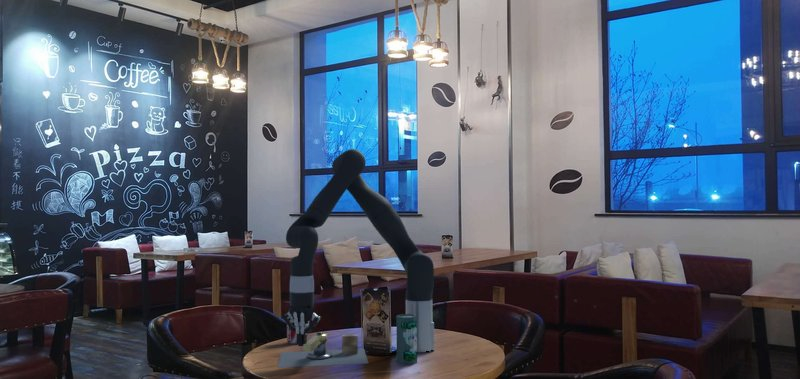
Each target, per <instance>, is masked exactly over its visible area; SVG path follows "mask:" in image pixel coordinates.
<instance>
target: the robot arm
mask: <svg viewBox="0 0 800 379" xmlns="http://www.w3.org/2000/svg"><path fill="white" fill-rule="evenodd" d="M366 161H367V160H366V158H365V155H364V154H363V153H362V152H361V151H360V150H358V149H355V148H352V149H347V150H345V151H344V152H342V153H340V154H339V155H338V156H337V157H335V158H334V160H333V161H332V164H331V168H332V173H333V175H332V176H331V179H329V181H328V182H327V183H325V185H324V186H323V188H321V190H320V191H319V193H318V194H317V195H316V196H315V197H314V198H313V200H312V201H311V203H310V204H309V206H308V207H307V208H306V210H305V212H304V213H303V214H302V215H301V216H299V217H298V218H297V219H296V220H295V221H294V222H293V223H292V224H291V225H290V227H289V228H288V230H287V232H286V234H285V242H286V244H287V245H288V246H289V247H291V248H292V249H293V248H294V249H299V251H298V255H295V256H293V257H292V258H291V259H290V277H289V278H290V279H289V308H288V311H287V313H285V314H283V315H282V319H283V320H284V322H285V324H286V326H287V325H288V326H289V328H290V330H291V331H294V332H296V334H297V344H296V345H297V347H303V344H304V343H305V342H307V341H308V340H307V339H308V333H311V332H313V331H314V329H315V328H316V326H317V325H318V324H319V322H320V321H321V320H322V316H320V315H318V314H317V313H316V310H315V308H314V304H315V278H314V261H315V256H316V253H317V249H318V246H319V234H318V231H317V228H320V227H322V226H323V225H324V224H325V223H326V221H327V220H328V218H329V216H330V215H331V213H332V212H333V210H334V209H335V207H336V205H337V204H338V202H339V200H340V199H341V198H342V196H343V195H344V193H345V192H346V191H348V193H349V194H350V195H351V196H352V198H353V199H354V201H355V202H356V203H357V205H358V206H359V207H360V208H361V210H362V212H364V214H365V216H366V217H367V219H368V220H369V222H370V223H371V224H372V226H373V227H374V228H375V230H376V232H377V233H378V234H379V235H380V237H382V239H383V240H384V241H385V242H386V243H387V244H388V246H390V248H391V249H392V250H393V252H394V254H395V255H396V257H397V258H398V260H399V262H400V264H401V265H402V268H403V269H404V271H405V273H406V291H405V314H414V315H416V316H417V353H427V352H426V351H429V352H432V351H431V350H434V351H435V322H434V321H433V319H434V318H433V294H434V287H435V284H434V282H435V280H434V279H435V267H434V262H433V260H432V258H431V257H430V256H429V255H427V254H425V253H424V252H422V251H421V250H420V249H419V247H418V246H417V245H416V244H415V243H414V241H413V240H412V238H411V237H410V235H409V233H408V232H407V231H408V230H407V229H406V227H405V224H404V222H403V221H402V218H401V217H400V215H399V213H398V212H397V211H396V209H395V208H394V206H393V205H392V204H391V202H390V201H389V200H388V199H387V198H386V197H385V196H383V195H382V194H380V193H379V192H377V191H376V190H375V189H373V188H372V187H370V186H369V185H368V183H367V182H366V181H365V180H364V177H362V175H361V174H362V173H363V171H364V170H365V168H366V164H367V163H366ZM292 318H293V319H294V320H293V319H292ZM310 321H311V322H310Z"/></svg>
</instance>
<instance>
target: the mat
mask: <svg viewBox="0 0 800 379" xmlns="http://www.w3.org/2000/svg"><path fill="white" fill-rule="evenodd" d="M326 351H327V352H331V353H332V357H331V358H329V359H324V360H313V359H309V358H308V354H309V353H311V352H314V350H312V351H311V352H308V351H303V350H302V351H288V352H287V351H286V352H285V351H284V352H283V351H282V352H280V353H279V360H278V364H277V368H278V369H280V368H297V367H298V368H299V367H320V366H323V367H325V366H343V365H362V364H369V361H368V357H367V355H366V353H365V349H364V348H358V354H344V355H343V354H342V349H329V350H327V349H326Z"/></svg>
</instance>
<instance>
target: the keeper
mask: <svg viewBox="0 0 800 379" xmlns="http://www.w3.org/2000/svg"><path fill="white" fill-rule="evenodd" d="M358 337H359V336H358V334H357V333H355V334H354V333H353V334H342V336H341V341H342V342H341V345H342V346H341V350H342V354H343V355H344V354H358V349H359V346H358V345H359V344H358V342H359V340H358Z"/></svg>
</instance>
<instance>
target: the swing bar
mask: <svg viewBox="0 0 800 379" xmlns="http://www.w3.org/2000/svg"><path fill="white" fill-rule="evenodd" d="M311 336H312V337H311V338H309V339H308V340H307V342H305V343H304V344H303V346H302V348H303V349H302V352H303V351H308V352H311V351H314V349H315V348H316V347H317V346H318V345H319V344H321V343H322V342H326V343H327V342H328V333H326V332H322V331H317V332H315V333H312V335H311Z"/></svg>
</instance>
